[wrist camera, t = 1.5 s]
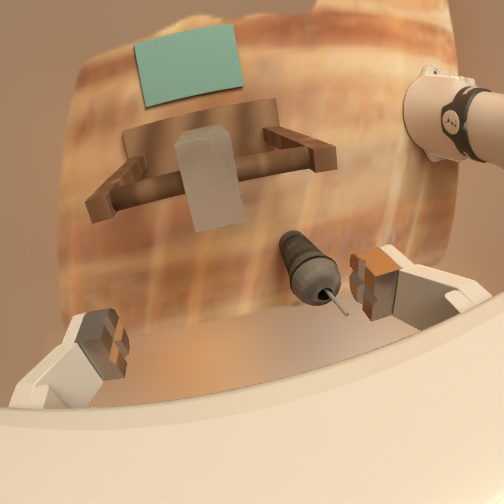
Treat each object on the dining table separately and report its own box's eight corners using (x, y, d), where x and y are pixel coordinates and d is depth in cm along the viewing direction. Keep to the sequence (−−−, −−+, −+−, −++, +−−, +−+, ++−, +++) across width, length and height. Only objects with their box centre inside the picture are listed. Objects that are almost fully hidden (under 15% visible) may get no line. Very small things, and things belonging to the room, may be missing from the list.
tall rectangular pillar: (219, 123, 30) (229, 133, 21) (230, 184, 34) (245, 221, 24) (181, 131, 30) (174, 145, 20) (195, 192, 33) (195, 232, 24)
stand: (272, 98, 41) (336, 99, 22) (282, 162, 46) (344, 211, 27) (124, 130, 39) (65, 158, 20) (140, 193, 44) (103, 265, 25)
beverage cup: (271, 224, 50) (313, 295, 33) (313, 221, 51) (371, 287, 34) (270, 263, 54) (306, 343, 36) (310, 259, 55) (358, 333, 37)
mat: (231, 24, 34) (232, 23, 34) (243, 86, 39) (243, 85, 39) (134, 44, 33) (134, 44, 33) (146, 107, 38) (146, 107, 38)
